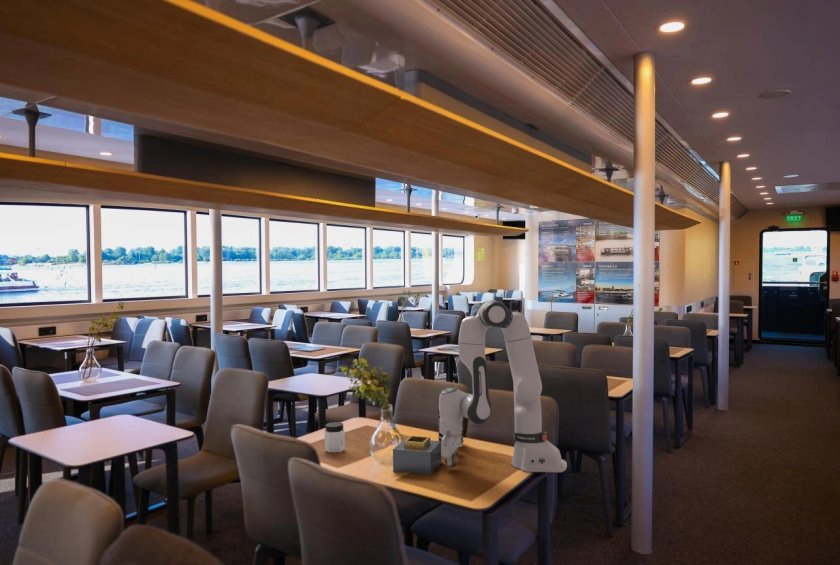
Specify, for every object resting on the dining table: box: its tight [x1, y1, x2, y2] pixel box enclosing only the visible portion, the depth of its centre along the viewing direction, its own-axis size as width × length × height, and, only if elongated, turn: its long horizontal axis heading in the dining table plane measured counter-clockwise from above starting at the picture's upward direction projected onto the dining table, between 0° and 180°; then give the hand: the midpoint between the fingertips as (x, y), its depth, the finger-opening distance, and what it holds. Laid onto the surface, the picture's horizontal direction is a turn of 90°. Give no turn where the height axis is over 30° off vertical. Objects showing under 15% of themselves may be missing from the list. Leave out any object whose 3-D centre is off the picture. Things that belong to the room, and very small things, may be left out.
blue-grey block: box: [392, 435, 443, 476], centre depth 241 cm, size 16×16×12 cm
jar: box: [324, 421, 346, 453], centre depth 266 cm, size 9×8×12 cm
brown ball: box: [444, 454, 460, 468], centre depth 236 cm, size 6×6×6 cm
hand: (451, 462), depth 236 cm, fingers closed on brown ball, 5 cm apart
